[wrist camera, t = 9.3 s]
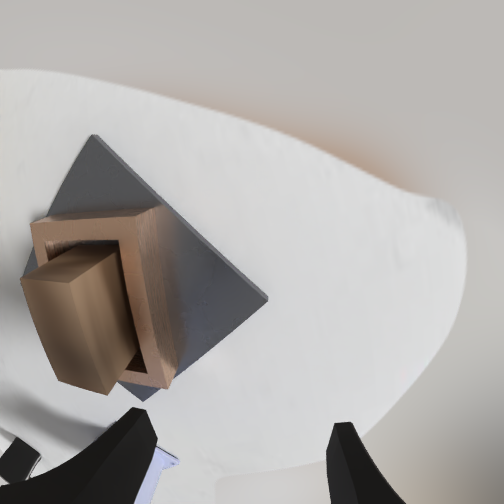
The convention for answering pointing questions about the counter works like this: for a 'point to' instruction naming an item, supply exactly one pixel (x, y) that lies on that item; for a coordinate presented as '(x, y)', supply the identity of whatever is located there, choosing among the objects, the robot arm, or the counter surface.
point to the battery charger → (18, 462)
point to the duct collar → (148, 265)
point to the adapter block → (83, 316)
